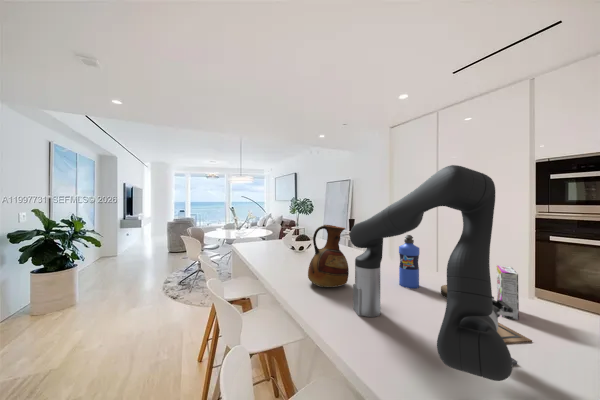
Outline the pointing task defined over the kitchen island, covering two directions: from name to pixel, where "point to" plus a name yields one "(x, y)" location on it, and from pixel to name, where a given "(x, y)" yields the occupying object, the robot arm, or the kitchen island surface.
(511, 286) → the candy bar box
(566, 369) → the kitchen island surface
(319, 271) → the ceramic pitcher
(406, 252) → the water bottle
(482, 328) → the robot arm
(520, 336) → the marked board
